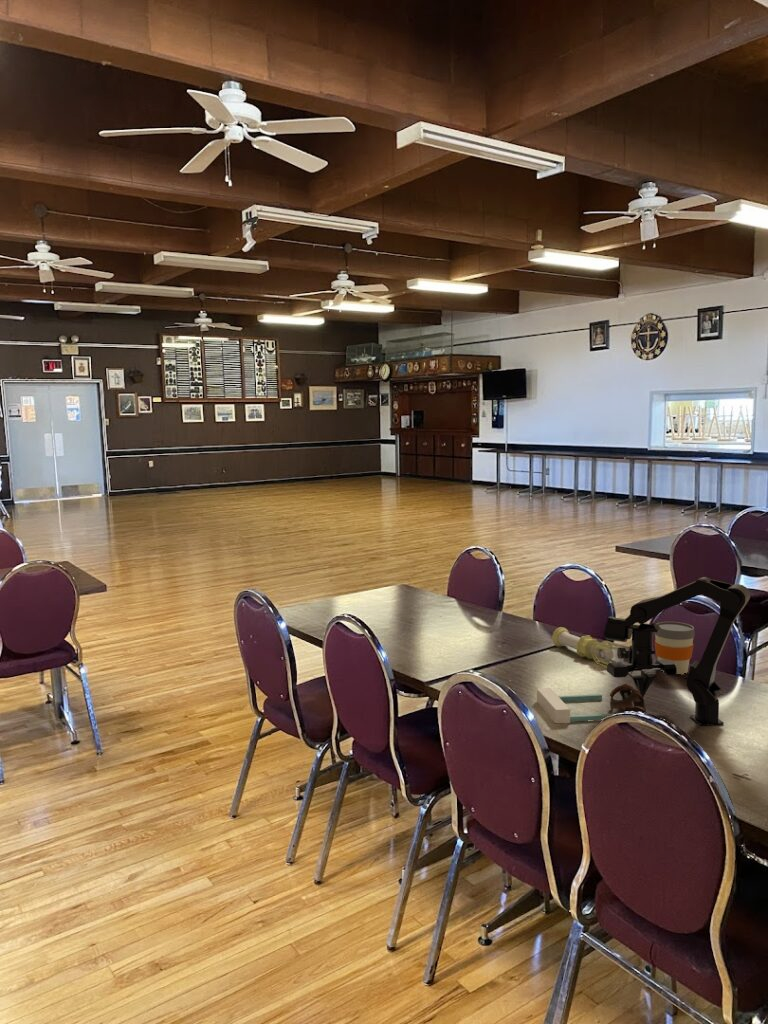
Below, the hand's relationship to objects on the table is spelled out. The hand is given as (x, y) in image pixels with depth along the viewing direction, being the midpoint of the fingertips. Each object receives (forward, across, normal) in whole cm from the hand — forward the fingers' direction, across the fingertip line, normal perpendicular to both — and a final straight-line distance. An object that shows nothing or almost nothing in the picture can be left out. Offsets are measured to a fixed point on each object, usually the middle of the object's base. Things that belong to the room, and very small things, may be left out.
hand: (641, 697), depth 213 cm
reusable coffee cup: (+3, -25, -30) cm, 39 cm away
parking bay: (+3, +19, 0) cm, 19 cm away
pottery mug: (+3, +4, +1) cm, 6 cm away
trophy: (+4, -2, -49) cm, 49 cm away
